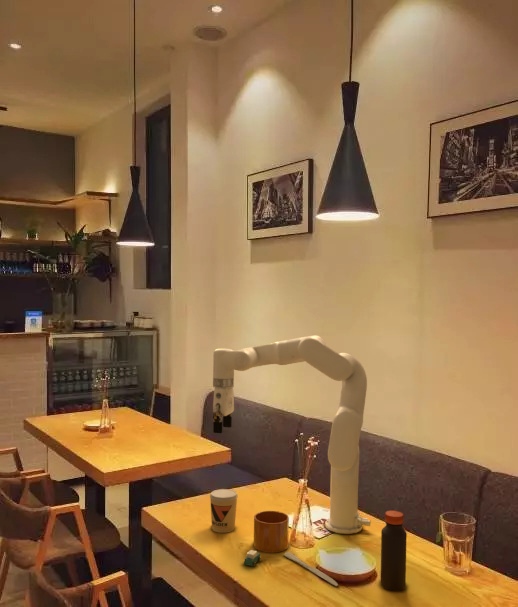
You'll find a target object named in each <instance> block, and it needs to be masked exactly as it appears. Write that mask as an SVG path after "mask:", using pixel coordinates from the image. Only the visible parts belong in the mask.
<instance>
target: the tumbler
mask: <svg viewBox="0 0 518 607" xmlns="http://www.w3.org/2000/svg"><path fill="white" fill-rule="evenodd" d="M289 525H290V516H289V515H288V514H287V513H285V512H282V511H277V510H263V511H259V512H257V513H255V514H254V516H253V547H254V548H255V549H256V550H258V551H260V552H263V553H279V552H283V551H285V550H287V549H288V548H289V538H290V537H289V536H290V535H289V533H290V532H289V531H290V530H289V528H290V526H289Z"/></svg>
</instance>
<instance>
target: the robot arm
mask: <svg viewBox="0 0 518 607" xmlns="http://www.w3.org/2000/svg"><path fill="white" fill-rule="evenodd" d="M212 360H213V361H212V362H213V364H212V365H213V366H212V387H213V388H214V390H213V402H212V422H213V424H212V426H213V428H212V429H213V430H212V431H213V433H214V434H223V428H229V429H230V428H232V426H233V425H232V422H233V420H232V418H233V417H232V416H233V412H234V411H235V395H234V394H235V392H234V386H235V382H234V381H235V371H238V372H244V371H247V370H249V369H252V368H256V367H257V368H258V367H262V366H269V365H279V366H286V365H292V364H297V363H304V362H306V364H308V365H310V366H311V367H313V368H314V369H315V370H317V371H319V372H320V373H322V374H323V375H325V376H327V377H328V378H330V379H332V380H334V381H337V382H341V390H340V398H339V403H338V409H337V411H336V413H335V414H334V416H333V419H332V423H331V428H330V436H329V440H328V441H329V442H328V448H327V461H328V463H329V464H330V480H329V481H330V483H329V484H330V488H329V491H330V492H329V518H328V519H326V520H325V522H324V526H325V528H326V529H327V531H330V532H333V533H335V534H341V535H350V534H357V533H359V532H361V531H362V528H363V526H365V527H371V526H372V525H371V524H372V523H371V522H372V521H371V520H370V519H369V518H368V517H362V516H360V512H359V510H358V509H359V473H360V451H361V450H360V438H361V431H362V427H363V424H364V413H365V412H364V411H365V406H366V397H367V388H368V379H367V378H368V377H367V374H366V370H365V368H364V366H363V364H362V363H361V361H359V360H358V358H356V357H355V356H354V355H352V354H350V353H347V352H337V351H335V350H334V349H332V348H330V347H329V346H328V345H327V344H326V341H325V339H323V337H321V336H319V335H316V334H315V335H307V336H302V337H301V336H300V337H296V338H290V339H284V340H279V341H275V342H272V343H266V344H261V345H254V346H249V347H244V348H241V349H236V350H233V349H231V348H216V349H214V351H213V359H212Z"/></svg>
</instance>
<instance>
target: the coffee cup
mask: <svg viewBox="0 0 518 607" xmlns="http://www.w3.org/2000/svg"><path fill="white" fill-rule="evenodd" d="M209 499H210V517H211V518H210V519H211V520H210V521H211V529H212V531H213V532H215V533H221V534H223V533H225V534H226V533H230V532H233V531H234V530H235V527H236V516H237V506H238V505H237V504H238V493H237V491H235V490H234V489H228V488H219V489H215V490H212V491H211V493H210V495H209Z"/></svg>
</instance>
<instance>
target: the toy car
mask: <svg viewBox="0 0 518 607" xmlns="http://www.w3.org/2000/svg"><path fill="white" fill-rule="evenodd" d="M261 559H262V557H261V553H260V552H258V551H257V550H253V549H250V550H249V551H248V552H247V553H246V557H245V558H244V560H243V565H245V566H250V567H253V568H255V567H256V566H257V564H256V563H257V562H258V563H260V562H261Z"/></svg>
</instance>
